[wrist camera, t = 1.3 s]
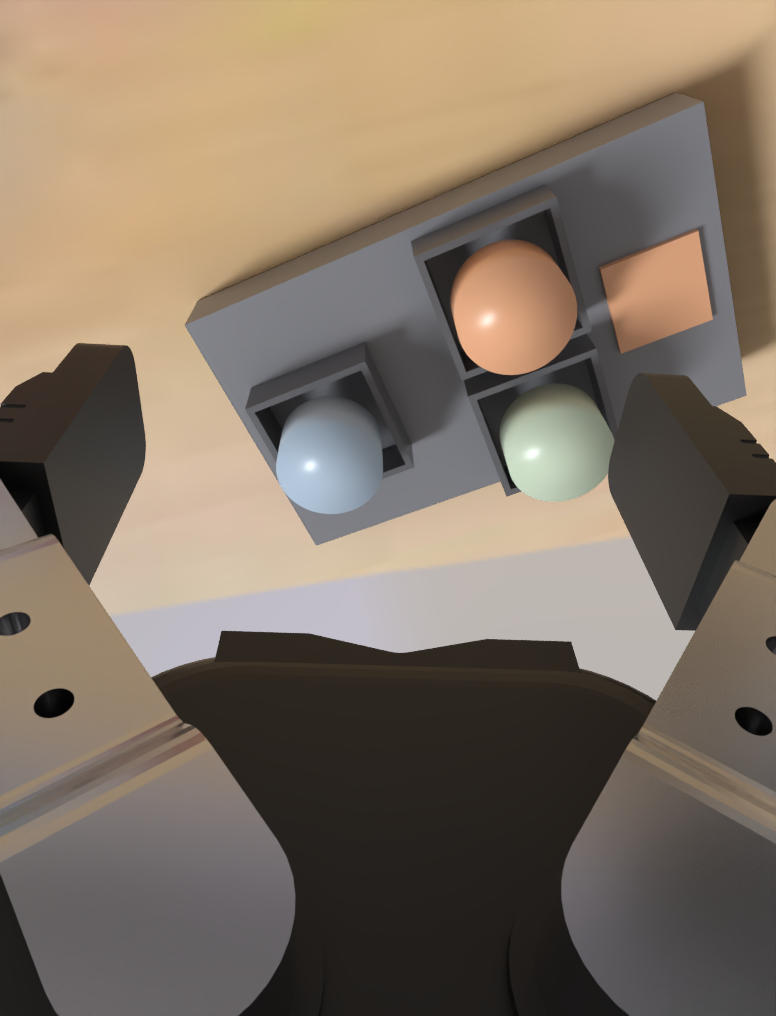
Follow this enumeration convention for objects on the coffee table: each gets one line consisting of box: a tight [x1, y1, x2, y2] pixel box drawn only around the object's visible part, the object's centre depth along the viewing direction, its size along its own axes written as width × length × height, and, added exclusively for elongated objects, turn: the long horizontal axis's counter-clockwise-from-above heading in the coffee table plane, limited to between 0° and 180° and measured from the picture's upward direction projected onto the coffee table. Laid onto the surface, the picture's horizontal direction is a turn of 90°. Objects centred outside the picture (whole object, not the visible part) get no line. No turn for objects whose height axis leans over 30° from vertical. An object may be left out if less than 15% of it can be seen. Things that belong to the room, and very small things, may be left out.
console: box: [185, 92, 746, 545], centre depth 33 cm, size 22×13×5 cm, turn 112°
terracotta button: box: [450, 239, 577, 375], centre depth 28 cm, size 4×4×2 cm
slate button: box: [276, 396, 383, 514], centre depth 32 cm, size 4×4×2 cm
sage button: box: [499, 383, 615, 502], centre depth 31 cm, size 4×4×2 cm
